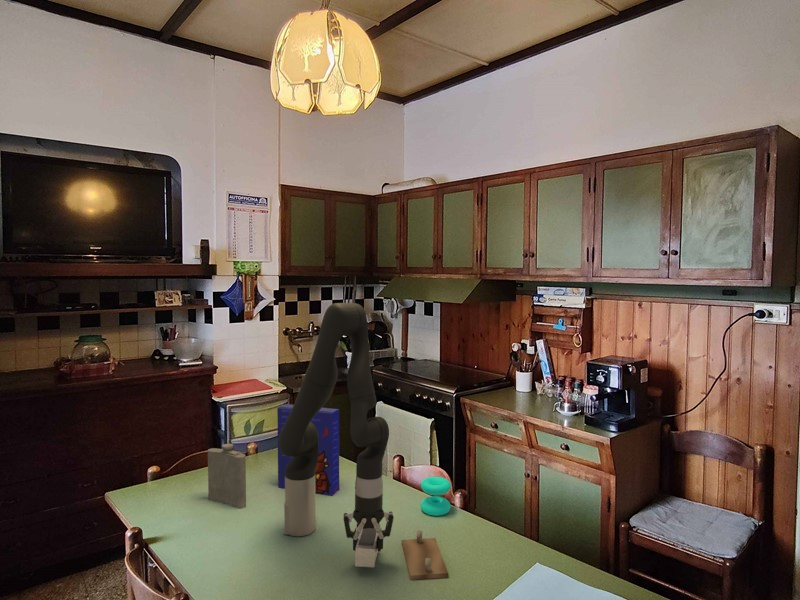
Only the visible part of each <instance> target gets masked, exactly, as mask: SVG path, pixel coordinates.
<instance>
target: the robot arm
mask: <svg viewBox="0 0 800 600" xmlns="http://www.w3.org/2000/svg"><path fill="white" fill-rule="evenodd" d="M321 320H322V321H321V324H320V328H319V332H318V337H317V341H316V344H315V347H314V349H313V353H312V356H311V359H310V362H309V364H308V366H307V369H306V371H305V374H304V377H303V379H302V382H301V385H300V388H299V391H298V393H297V395H296V398H295V401H294V403H293V405H294V406H293V408H292V410H291V412H290V414H289V416H288V418H287V420H286V422H285V424H284V426H283V428H282V430H281V433H280V436H279V448H280V450H281V452H282V454H283V455H285V456H287V457H293V459H292V460H291V461H290V462H289V463H288V464H287V465H286V467H285V489H284V503H283V504H284V506H283V507H284V509H283V515H284V516H283V517H284V523H283V525H284V529H283V530H284V535H285V536H287V535H289V536H292V537H304V536H309V535H310V534H312V533H313V532H315V531H316V527H317V526H316V524H317V523H316V522H317V520H316V519H317V517H316V516H317V515H316V514H317V513H316V505H317V504H316V494H315V470H316V467H317V464H318V450H319V436H318V431H317V429H316V427H315V425H314V424H313V423H312V422H310V421H311V420H312V419H313V417H314V416H315V415H316V414H317V413H318V411H319V410H320V409H321V408H324V406H325V404H326V403H327V402H328V400H329V399H330V398H331V396H332V394H333V391H334V389H335V386H336V383H337V380H338V377H339V373H338V370H339V369H338V365H337V361H336V353H337V352H336V351H337V348H338V345H339V342H340V341H341V339H342V337H349V340H350V346H351V357H350V362H349V365H348V369H347V374H346V384H347V390H348V391H347V392H348V396H349V400H350V420H349V421H350V425H349V434H350V435H349V436H350V438H351V441H352V442H353V443H354V445H356V447H359V448H365V449H364V450H362V451H361V452H359V454H358V455H357V457H356V463H355V464H356V466H355V467H356V468H355V469H356V471H355V474H356V475H355V483H354V485H355V486H354V510H353V512H352V513H347V512H344V513H343V524H344V530H345V534H346V535H345V536H346V538H347V539H352V550H353V551H355V553H356V545H357V542H358V538H359V535H360V533H361V531H362V529H366V528H374V527H375V530H376V532H377V534H378V552H377V553H379V552H381V550H383V549H384V538H385V537H386V538H387V537H390V536H391V532H392V528H393V522H394V512H393V511H389V512H387V511H384V509H383V502H384V499H383V496H384V493H383V492H384V491H383V489H384V480H383V460H384V457H385V454H386V449H387V445H388V442H389V439H390V427H389V424H388V422H387V421H386V420H385V418H383V417H382V416H373V417H369V418H368V412H369V410H371V409H374V408H375V407H376V405H377V396H376V391H375V386H374V382H373V377H372V372H371V371H372V370H371V364H370V363H371V361H370V346H369V345H370V344H369V343H370V342H369V329H368V328H369V327H368V317H367V313H366V311H365V308H364V307H363V305H361V304H359V303H355V302H336V303H335V302H334V303H331V304H330V305H329V306H328V308H326V310H325V312H324V315H323V317H322V319H321ZM383 518H384V520H385V521H386V523H385V524H386V525H385V528H384V529H382V527H381V524H380V522H381V521H382V520H383ZM352 519H353V520H355V523H356V524H355V528H354V530H352V529H351V525H350V524H351V523H352Z"/></svg>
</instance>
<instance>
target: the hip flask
mask: <svg viewBox="0 0 800 600" xmlns="http://www.w3.org/2000/svg"><path fill="white" fill-rule="evenodd" d="M221 446H222V447H221V448H215V447H212V448H209V449H207V483H208V489H207V490H208V492H207V493H208V500H209V501H211V502H217V503H222V504H225V505H228V506H231V507H233V508H237V509H243V508H246V507H247V477H246V476H247V475H246V473H247V470H246V469H247V468H246V467H247V466H246V463H247V462H246V454H245V453H242V452H238V451H235V450H234V444H233V443H225V444H222V445H221Z"/></svg>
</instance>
